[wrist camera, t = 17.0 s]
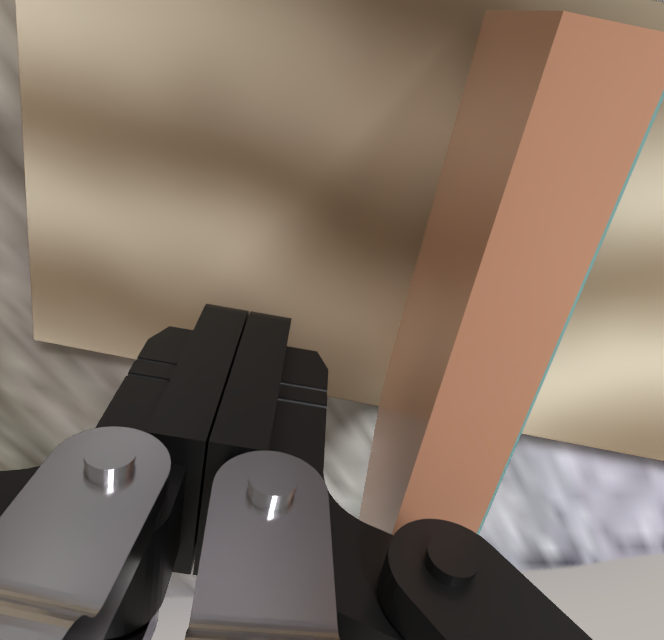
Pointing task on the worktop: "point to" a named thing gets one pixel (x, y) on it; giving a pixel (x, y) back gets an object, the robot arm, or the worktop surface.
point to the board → (299, 188)
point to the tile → (506, 253)
